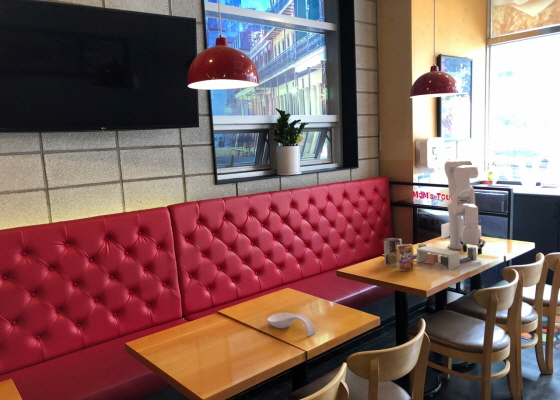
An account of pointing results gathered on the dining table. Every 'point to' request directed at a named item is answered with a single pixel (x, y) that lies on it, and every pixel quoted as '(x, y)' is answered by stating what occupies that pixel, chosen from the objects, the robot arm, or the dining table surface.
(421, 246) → the straight bar tool
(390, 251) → the coffee box
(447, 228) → the storage container
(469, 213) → the robot arm
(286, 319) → the spoon rest
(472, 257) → the crook tool
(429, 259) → the block
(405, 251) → the candy box
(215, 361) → the dining table surface
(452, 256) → the cubby
